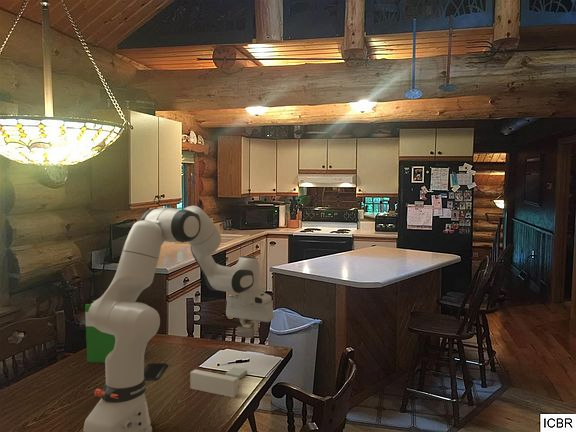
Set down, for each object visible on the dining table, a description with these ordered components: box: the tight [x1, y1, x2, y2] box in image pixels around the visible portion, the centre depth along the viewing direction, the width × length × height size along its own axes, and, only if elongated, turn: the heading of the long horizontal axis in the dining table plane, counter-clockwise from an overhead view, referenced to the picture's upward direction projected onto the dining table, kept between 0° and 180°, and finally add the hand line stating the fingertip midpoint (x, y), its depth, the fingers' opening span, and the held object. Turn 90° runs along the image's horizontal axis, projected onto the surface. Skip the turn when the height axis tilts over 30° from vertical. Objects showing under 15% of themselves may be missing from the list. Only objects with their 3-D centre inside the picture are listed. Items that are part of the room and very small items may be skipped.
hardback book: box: [84, 299, 115, 363], centre depth 202 cm, size 18×7×24 cm, turn 85°
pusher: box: [236, 320, 259, 339], centre depth 196 cm, size 9×7×4 cm
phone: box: [144, 362, 168, 382], centre depth 189 cm, size 8×1×15 cm
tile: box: [224, 367, 248, 380], centre depth 187 cm, size 6×6×2 cm
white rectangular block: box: [189, 368, 239, 399], centre depth 175 cm, size 9×18×6 cm, turn 66°
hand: (249, 329), depth 196 cm, fingers closed on pusher, 3 cm apart
